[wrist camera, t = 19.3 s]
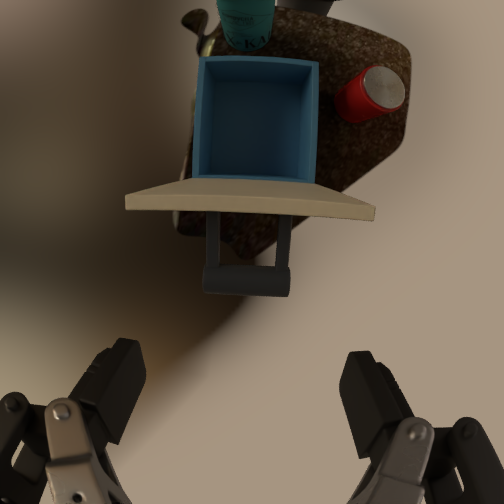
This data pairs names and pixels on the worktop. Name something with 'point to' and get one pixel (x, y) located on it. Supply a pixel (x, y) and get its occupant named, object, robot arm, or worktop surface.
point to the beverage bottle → (246, 22)
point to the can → (370, 95)
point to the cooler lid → (251, 201)
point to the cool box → (256, 118)
